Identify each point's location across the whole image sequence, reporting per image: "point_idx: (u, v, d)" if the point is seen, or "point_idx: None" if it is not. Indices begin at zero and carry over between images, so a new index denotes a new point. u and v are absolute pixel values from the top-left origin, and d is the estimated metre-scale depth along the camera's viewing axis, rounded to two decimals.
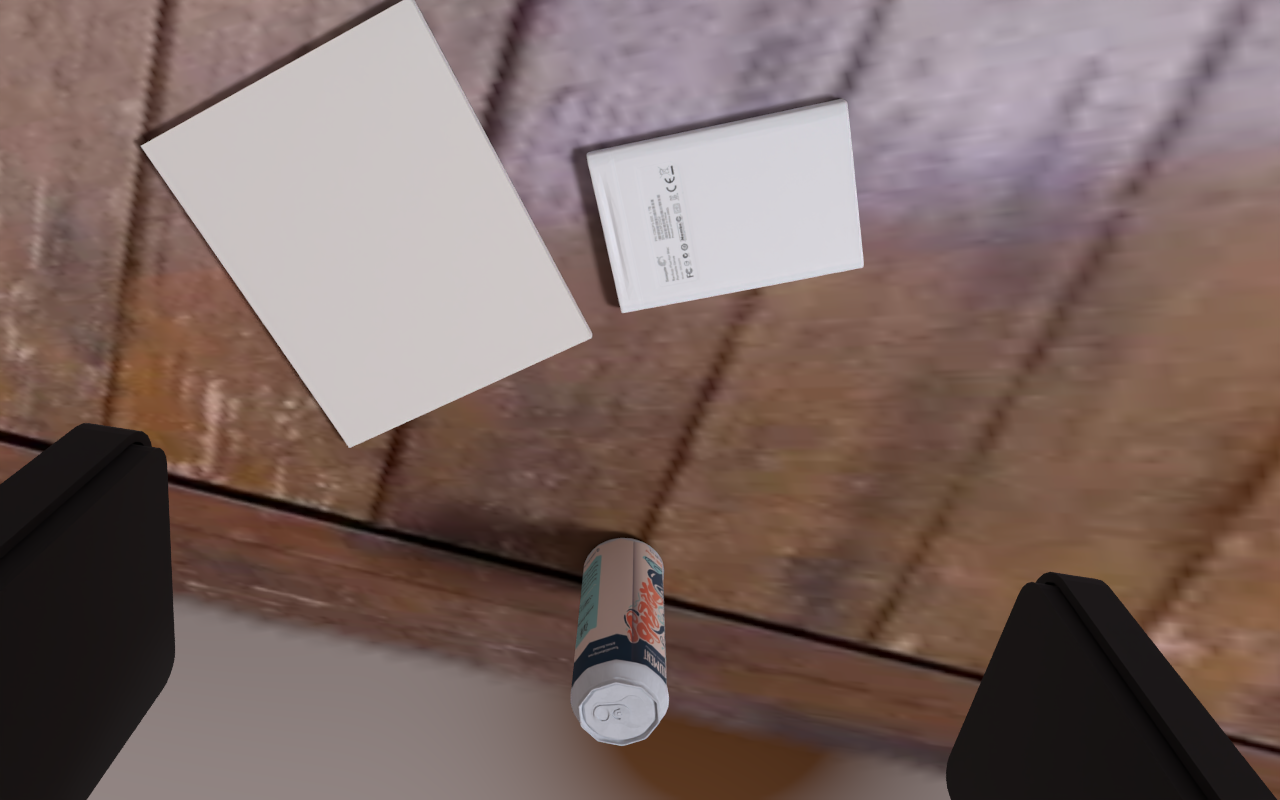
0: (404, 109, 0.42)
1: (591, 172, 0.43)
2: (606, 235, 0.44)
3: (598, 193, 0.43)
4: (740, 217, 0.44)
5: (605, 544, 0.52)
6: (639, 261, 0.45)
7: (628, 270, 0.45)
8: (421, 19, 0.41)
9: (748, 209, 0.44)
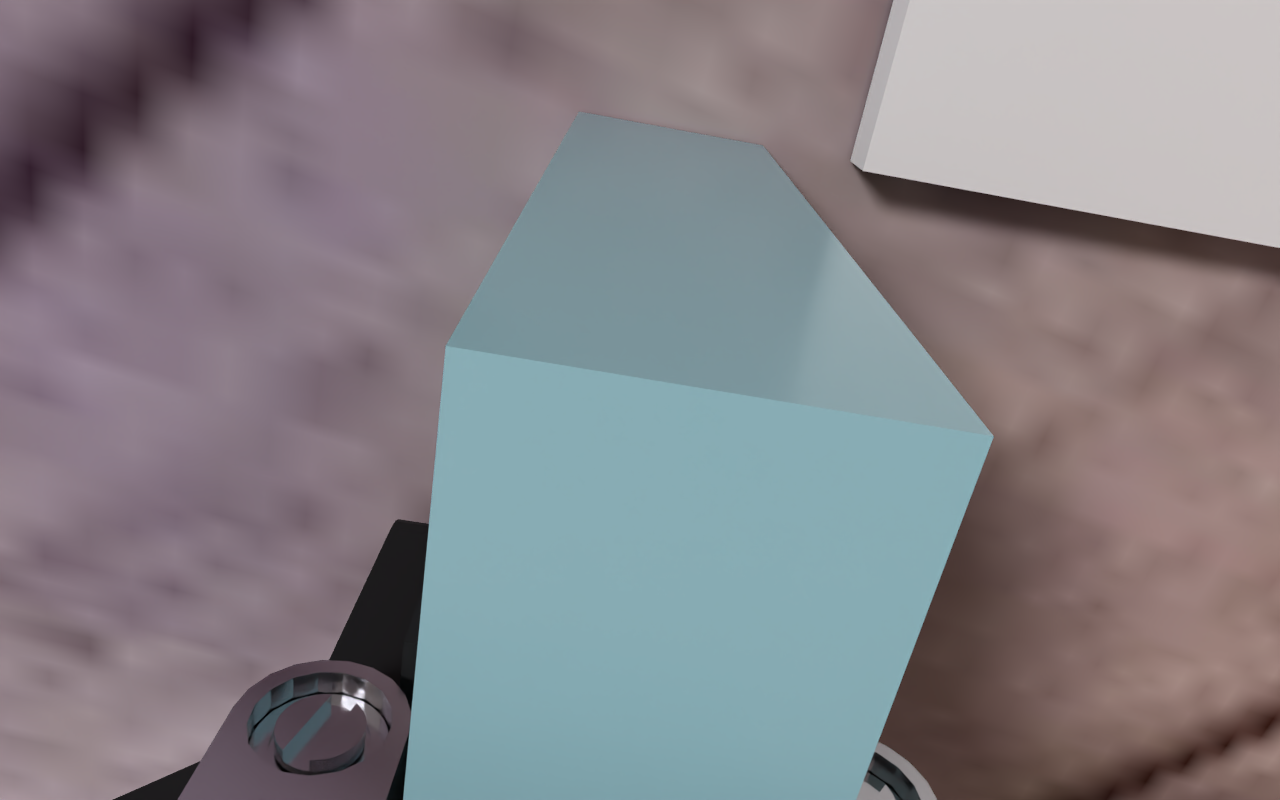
0: None
1: None
2: None
3: None
4: None
5: None
6: None
7: None
8: (891, 64, 0.09)
9: None
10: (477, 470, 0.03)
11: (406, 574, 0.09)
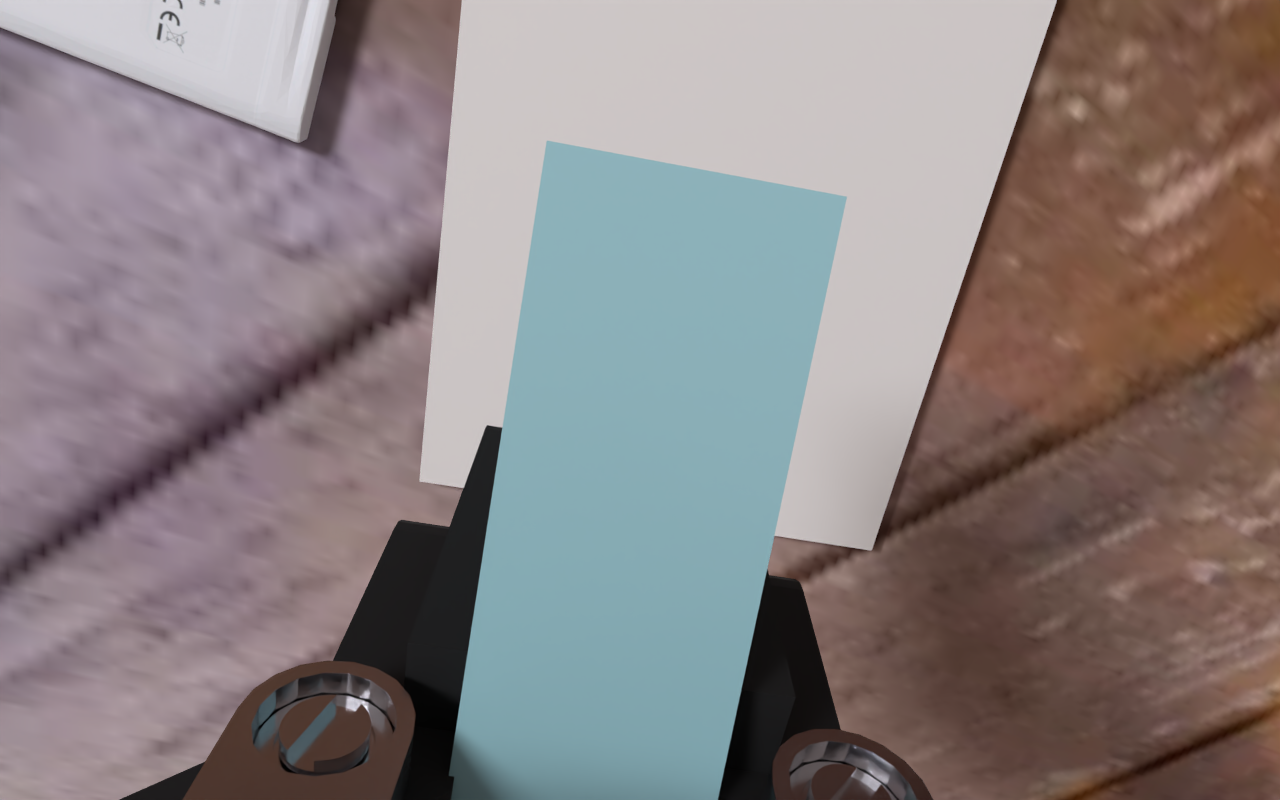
0: None
1: (300, 114, 0.24)
2: None
3: (305, 74, 0.23)
4: None
5: None
6: None
7: None
8: (423, 452, 0.28)
9: None
10: (559, 218, 0.06)
11: (409, 574, 0.09)
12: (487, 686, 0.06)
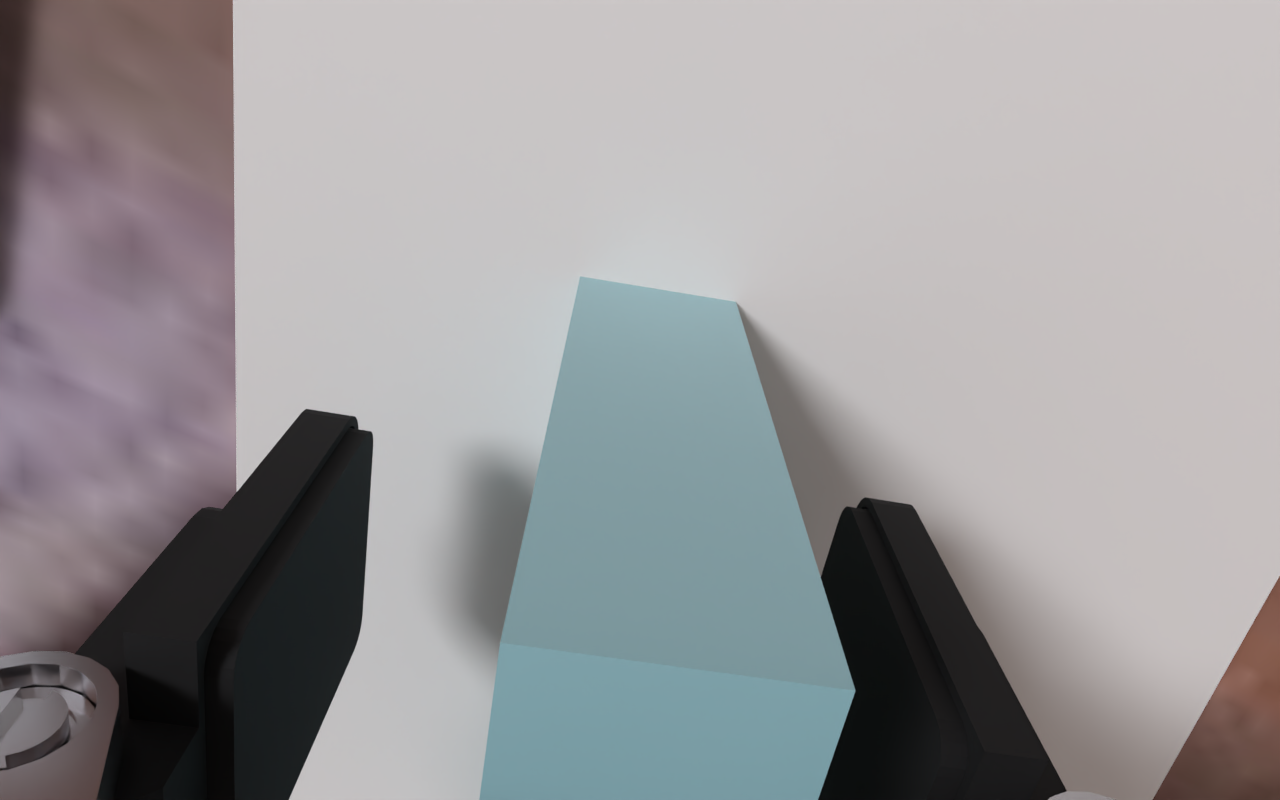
0: (413, 729, 0.14)
1: None
2: None
3: None
4: None
5: None
6: None
7: None
8: None
9: None
10: (519, 713, 0.05)
11: None
12: None
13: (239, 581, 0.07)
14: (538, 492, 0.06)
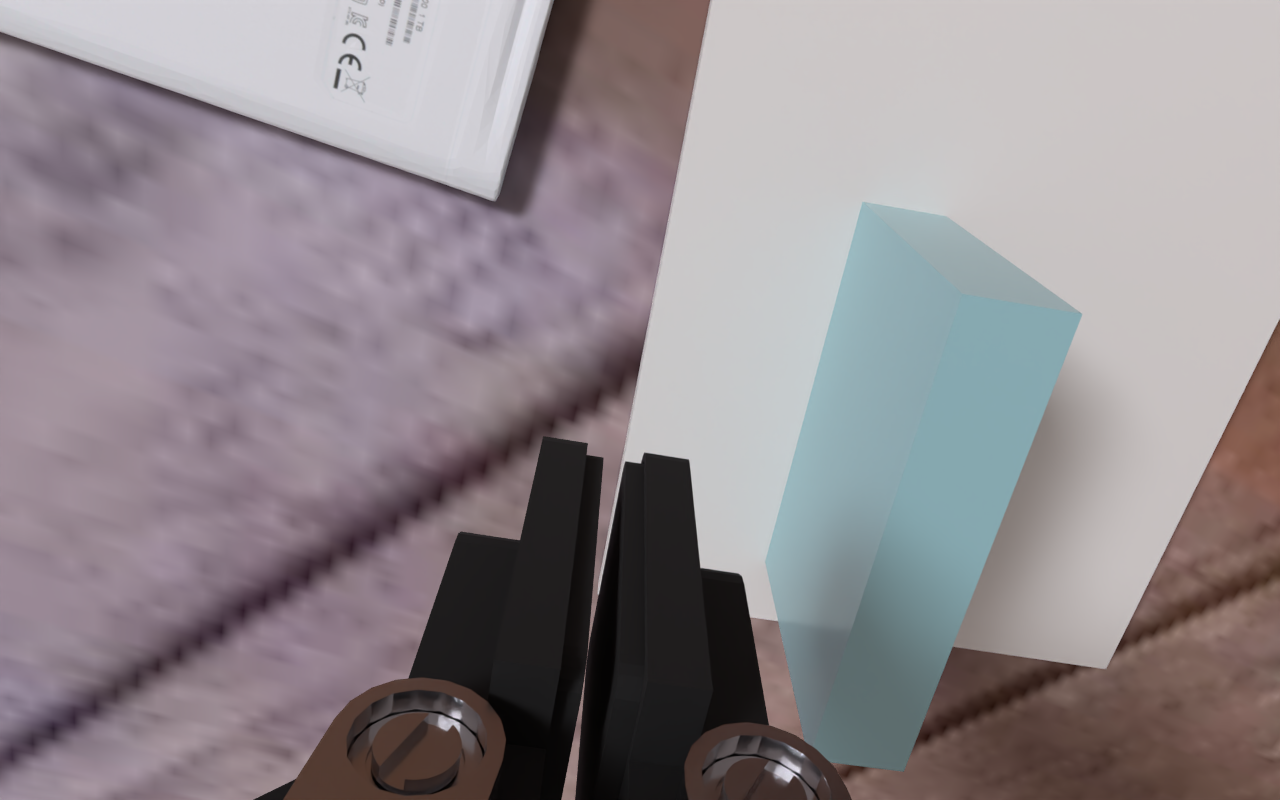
0: (724, 486, 0.24)
1: (500, 168, 0.20)
2: (539, 23, 0.19)
3: (508, 120, 0.20)
4: None
5: None
6: None
7: None
8: (604, 562, 0.25)
9: None
10: (962, 323, 0.14)
11: (475, 587, 0.09)
12: (904, 502, 0.16)
13: (567, 609, 0.07)
14: (933, 266, 0.16)
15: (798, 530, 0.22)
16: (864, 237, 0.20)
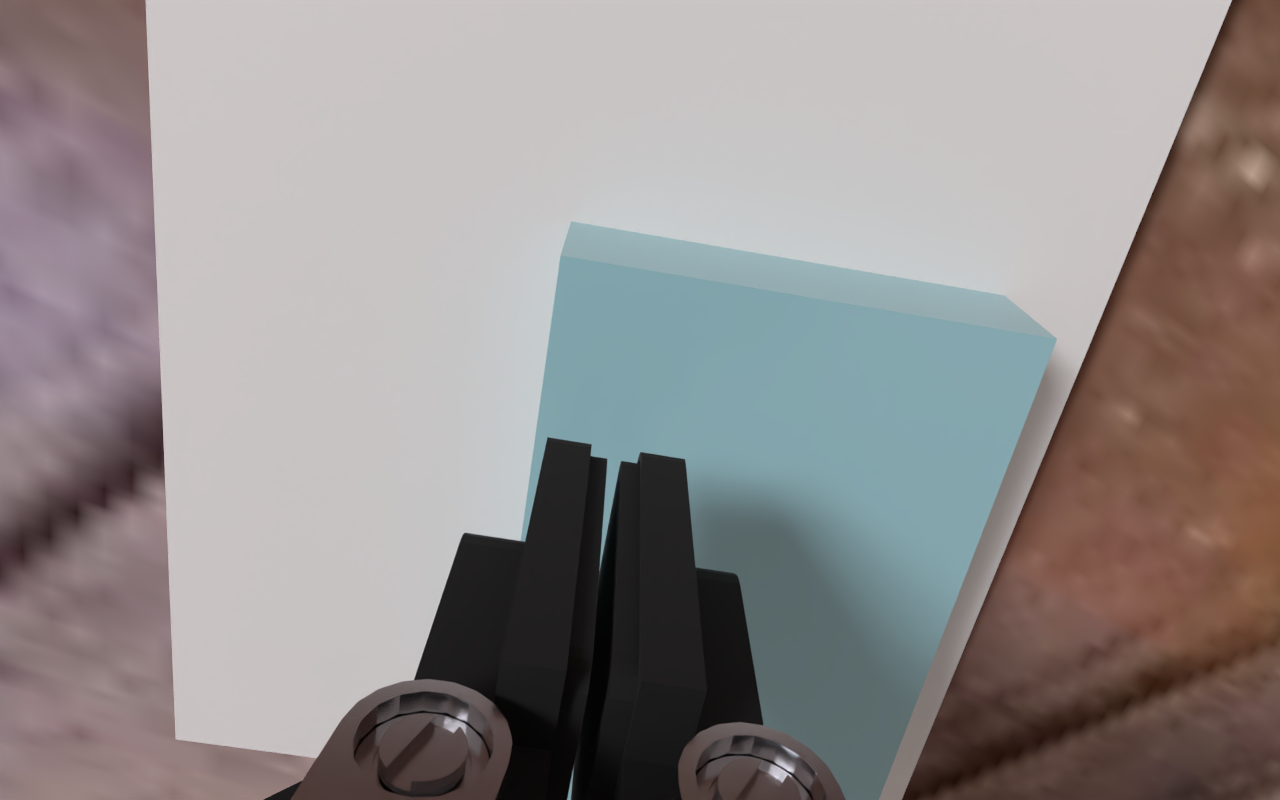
0: (319, 599, 0.17)
1: None
2: None
3: None
4: None
5: None
6: None
7: None
8: (177, 697, 0.18)
9: None
10: None
11: (480, 589, 0.09)
12: (965, 558, 0.14)
13: (572, 610, 0.07)
14: (943, 319, 0.12)
15: None
16: (620, 309, 0.12)
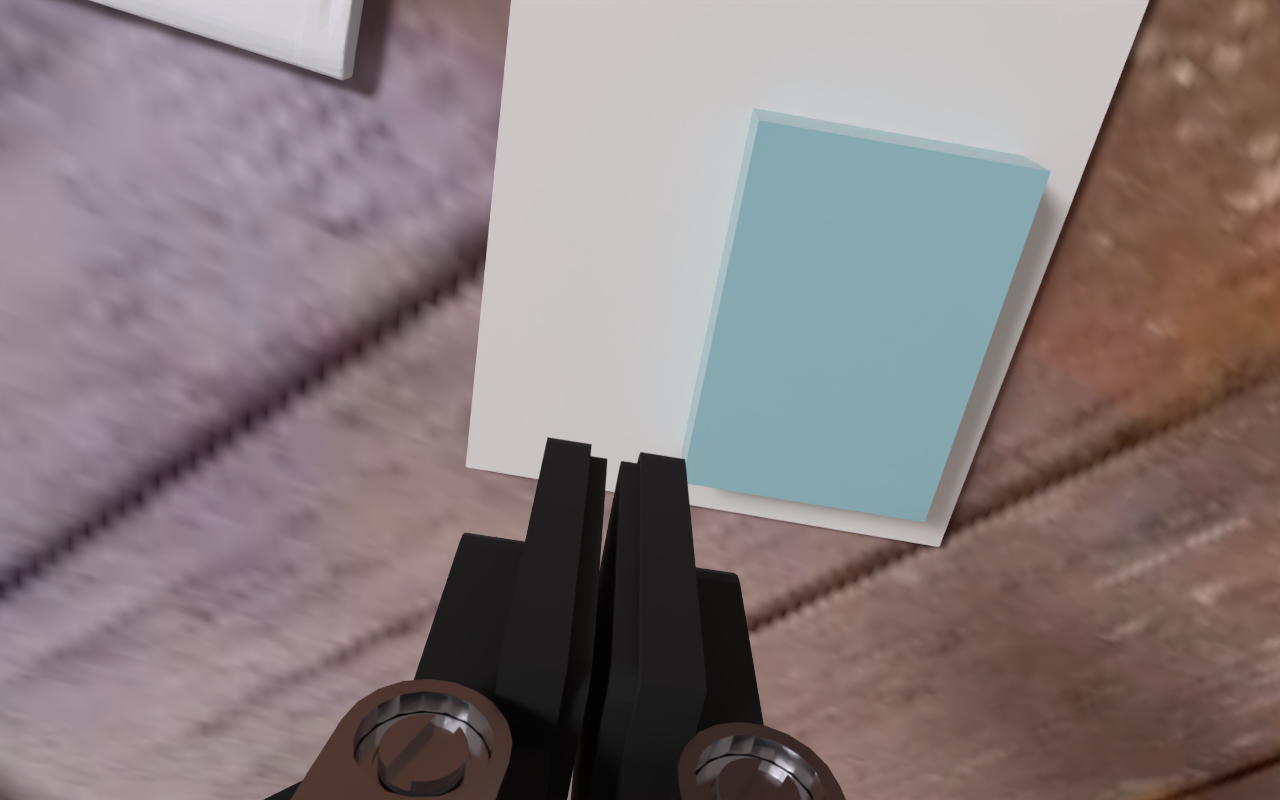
0: (571, 364, 0.26)
1: (342, 47, 0.22)
2: None
3: (344, 2, 0.22)
4: None
5: None
6: None
7: None
8: (469, 436, 0.27)
9: None
10: None
11: (480, 589, 0.09)
12: (994, 319, 0.23)
13: (573, 610, 0.07)
14: (982, 159, 0.21)
15: (776, 420, 0.24)
16: (791, 153, 0.21)
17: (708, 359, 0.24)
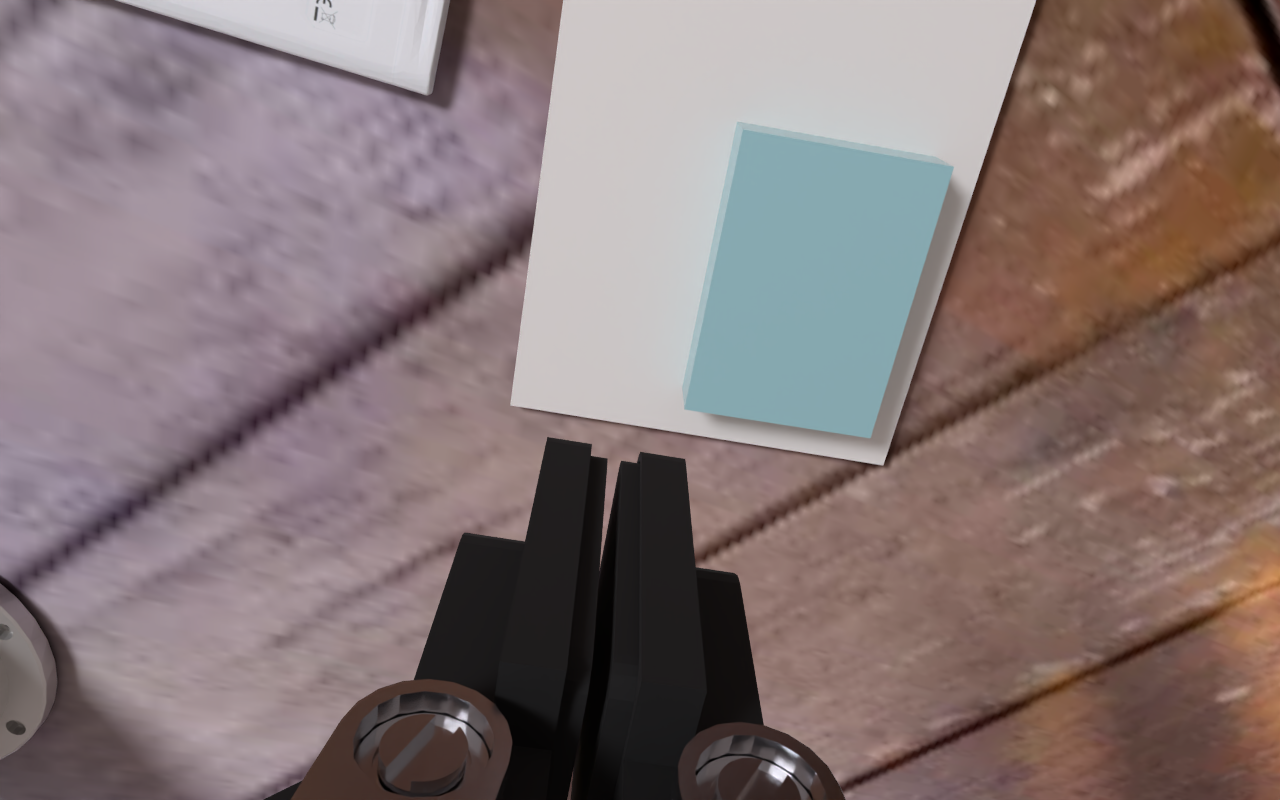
0: (596, 320, 0.33)
1: (428, 70, 0.30)
2: None
3: (431, 37, 0.29)
4: None
5: None
6: None
7: None
8: (514, 380, 0.35)
9: None
10: None
11: (480, 589, 0.09)
12: (917, 277, 0.31)
13: (572, 610, 0.07)
14: (904, 158, 0.29)
15: (756, 358, 0.32)
16: (766, 153, 0.29)
17: (705, 310, 0.31)
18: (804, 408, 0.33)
